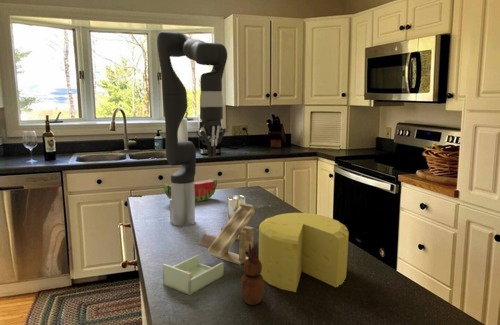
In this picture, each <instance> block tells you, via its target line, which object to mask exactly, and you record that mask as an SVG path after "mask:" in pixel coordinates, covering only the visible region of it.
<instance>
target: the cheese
mask: <svg viewBox="0 0 500 325" xmlns="http://www.w3.org/2000/svg"><path fill="white" fill-rule="evenodd" d="M349 233H350V232H349V230H348V227H347V226H346V225H345V224H343V223H341V222H340V221H339V220H337V219H334V218H331V217H330V216H325V215H321V214H316V213H309V212H289V213H288V212H287V213H280V214H277V215H273V216H270V217H267V218H265V219H264V220H263V221H261V223H259V226H258V260H260V262H261V264H262V271H261V273H260V274H261V275H262V277H263V280H264V282H266V283H267V284H269V285H271V286H273V287H275V288H278V289H280V290H283V291H289V292H294V293H297V290H298V286H299V283H300V278H301V275H302V273H305V274H306V275H308V276H311V277H313V278H314V279H317V280H319V281H322V282H324V283H325V284H328V285H329V286H332V287H334V288H336V287H337V288H338V287H340V286H341V285H343V284H344V283H345V281H344V280H346V279H347V278H346V277H347V270H348V268H347V267H348V253H349V252H348V250H349V237H350V236H349V235H350V234H349ZM343 282H344V283H343ZM339 285H340V286H339Z"/></svg>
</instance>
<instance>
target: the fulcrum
mask: <svg viewBox="0 0 500 325" xmlns="http://www.w3.org/2000/svg"><path fill="white" fill-rule="evenodd" d="M224 227H225V226H223V227H221V229H220V230H221V231H222V229H223V228H224ZM221 231H220V232H221ZM249 243H250V245H251V250H252V247H253V248H254V227H252V226H248V225H245V227H244V228H243V231H241V232H239V240H238V253H234V252H231V251H229V249H228V250H227V252H226V253H225V255H224V256H223V257H222V258H218V257H216V258H217V259H219V260H220V259H221V260H224V261H227V262H230V263H233V264H236V265H239V266H241V265H244V263H245V261H246V260H247V259H248V256H247V253H249Z"/></svg>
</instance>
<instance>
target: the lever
mask: <svg viewBox="0 0 500 325" xmlns="http://www.w3.org/2000/svg"><path fill="white" fill-rule="evenodd" d="M255 211H256V210H255V207H254V205H253V204H249V203H246V204H245V203H240V207H239V208H238V210H237V211H236V212H235V214H234V215H233V216H232V218H231V219H230V220H229V221H227V223H226V224H225V225H224V226H223V227H224V228H223V229H222V231H220V232H219V233H218V234H217V236H212V235H209V234H206V233H204V234H203V236H202V237H201V238H200V239H199V241H198V242H197V245H198V246H199V247H203V248H206V249H207V252H208V253H209V254H210V255H211V256H213V257H215V258H217V257H218V258H217V259H220V258H222V257H223V256H224V255H225V253H226V252H227V250H228V251H229V249H230V248H231V247H232V245H233V243H234V242H235V241H236V240H235V239H236V238H237V236H238V235H239V232H241V231H242V229H243V228H244V227H245V226H247V224H248V222H249V221H250V220H251V218H252V217H253V215H254V214H255Z"/></svg>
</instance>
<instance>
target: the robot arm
mask: <svg viewBox="0 0 500 325" xmlns="http://www.w3.org/2000/svg"><path fill="white" fill-rule="evenodd" d="M156 47H157V53H158V54H157V55H158V62H159V66H160V67H159V68H160V74H161V88H162V103H163V110H164V123H165V126H164V128H165V158H166V160H167V163H168V165H170V166H173V167H175V166H181V167H180V168H179V169H178V170H176V171H175V172H173V173H171V175H170V185H171V199H169V217H170V218H169V219H170V220H169V221H170V223H172V225H173V226H177V227H178V226H179V227H180V226H181V227H183V226H191V225H193V224H195V223H196V219H195V218H196V215H195V212H196V211H195V210H196V203H195V195H194V182H195V176H196V170H197V169H196V164H197V149H196V146H195V144H194V143H193V142H192V141H190V140H185V141H181V140H180V141H179V140H178V134H179V128H180V125H181V123H182V121H183V119H184V117H185V115H186V113H187V111H188V96H187V95H188V93H187V89H186V87H185V85H184V84H183V82H182V81H181V79H180V78H179V75H177V73H176V72H175V70H174V68H173V65H172V64H173V63H172V62H171V57H172V58H176V57H177V58H181V57H186V58H187V59H189V60H190V61H191V60H192V61H193V62H195V63H197V64H198V65H201V66H212V69H211V71H209V72H204V73H201V75H200V94H199V95H200V96H199V112H200V113H199V118H200V120H201V121H202V122H201V127H200V129H198V130H196V132H195V133H196V134H197V136H198V138H199V139H200V142H201V143H202V144H203V145H205V146H207V156H208V158H215V157H216V155H217V146H218V145H219V144H220V143H221V142H222V140H223V138H224V136H225V133H226V130H227V129H226V127H223V126H222V122H221V121H222V120H223V118H224V117H223V116H224V115H223V114H224V113H223V112H224V110H223V109H224V107H223V106H224V105H223V103H224V100H223V99H224V98H223V76H224V72H225V68H226V65H227V64H226V63H227V60H228V50H227V48H226V46H225V45H224V44H222V43H215V42H205V41H203V40H201V39H200V40H199V39H193V38H191V37H189V36H187V35H186V34H184V33H183V32H178V31H166V30H164V31H163V30H162V31H161V30H160V32H158V34H157V38H156Z"/></svg>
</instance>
